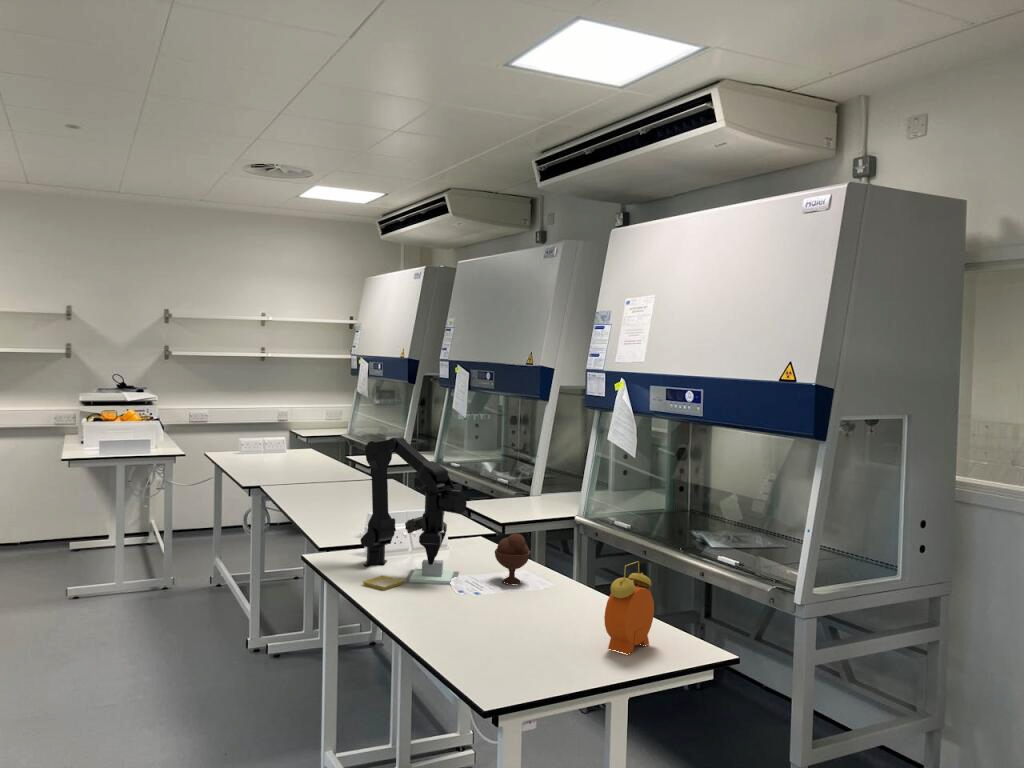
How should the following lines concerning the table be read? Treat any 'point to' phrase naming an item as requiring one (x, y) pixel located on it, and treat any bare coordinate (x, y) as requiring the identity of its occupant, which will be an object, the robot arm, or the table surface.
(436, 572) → the cover
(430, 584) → the mat
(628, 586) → the alarm clock
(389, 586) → the saucer
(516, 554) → the ice cream bowl
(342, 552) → the table surface
